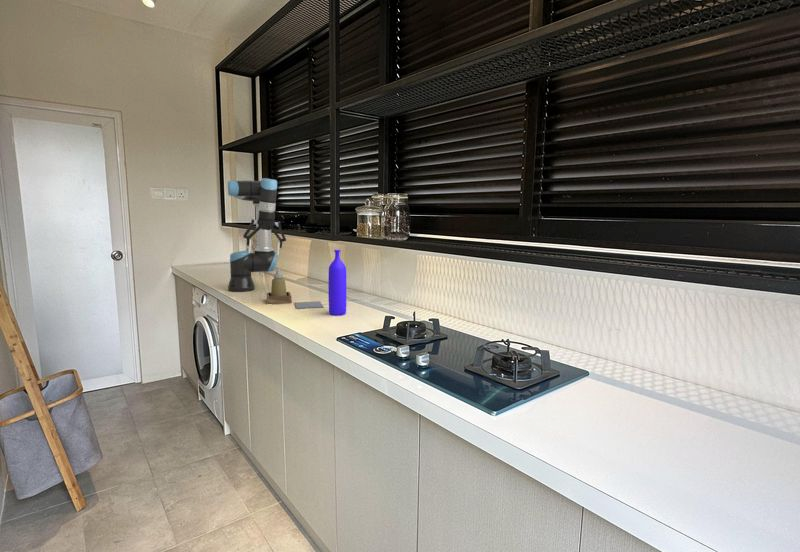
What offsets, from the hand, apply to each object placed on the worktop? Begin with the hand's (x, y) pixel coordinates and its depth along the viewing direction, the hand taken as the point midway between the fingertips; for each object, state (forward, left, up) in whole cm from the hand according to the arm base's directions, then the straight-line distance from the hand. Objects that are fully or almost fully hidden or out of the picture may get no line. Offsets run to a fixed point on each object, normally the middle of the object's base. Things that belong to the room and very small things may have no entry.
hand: (263, 253), depth 207 cm
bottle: (+29, +32, -26) cm, 50 cm away
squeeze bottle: (-5, +7, -26) cm, 28 cm away
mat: (+8, +21, -26) cm, 34 cm away
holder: (-5, +7, -26) cm, 28 cm away
